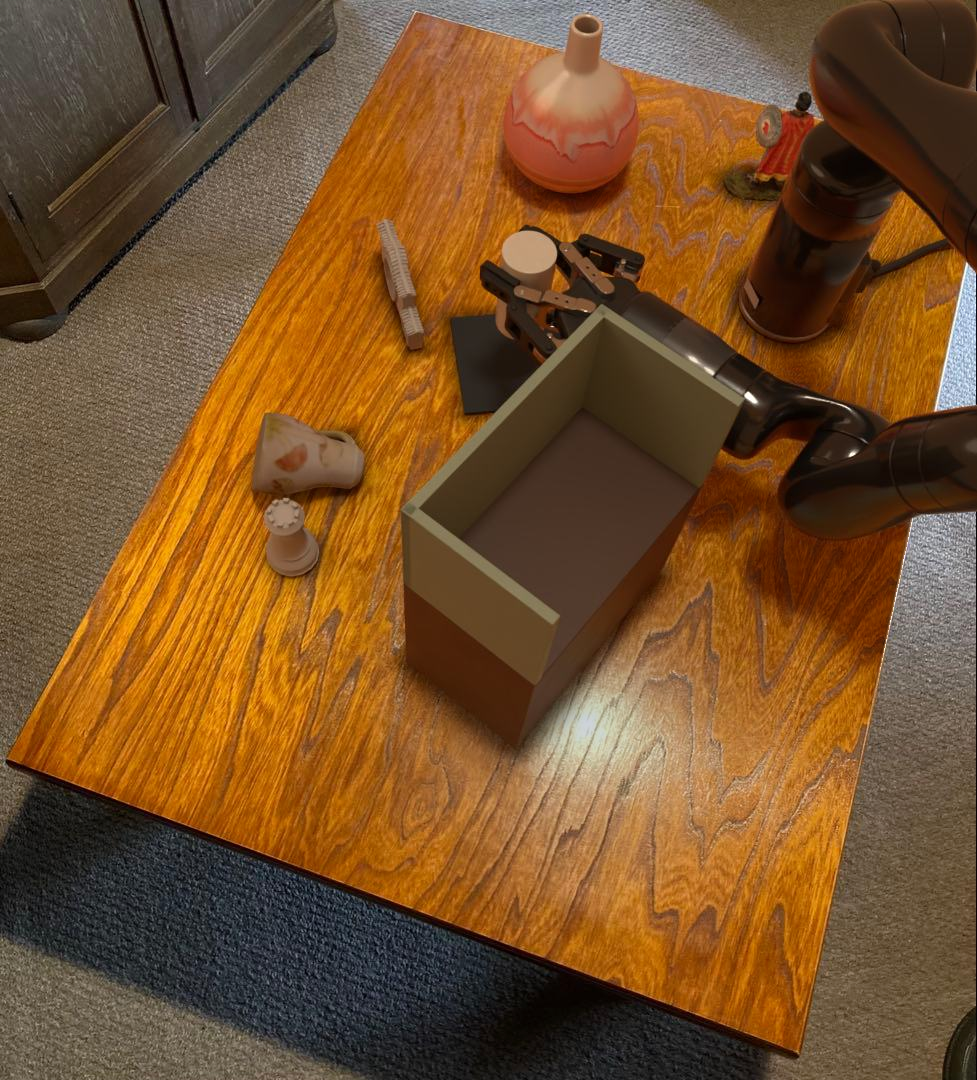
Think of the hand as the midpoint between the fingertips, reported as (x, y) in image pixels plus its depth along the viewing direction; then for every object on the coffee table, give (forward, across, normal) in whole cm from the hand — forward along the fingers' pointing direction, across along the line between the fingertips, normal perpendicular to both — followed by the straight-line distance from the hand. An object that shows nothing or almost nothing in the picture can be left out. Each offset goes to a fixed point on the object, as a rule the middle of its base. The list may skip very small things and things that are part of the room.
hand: (502, 252), depth 91 cm
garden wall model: (+10, +2, +14) cm, 17 cm away
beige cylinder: (-3, 0, +7) cm, 7 cm away
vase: (+9, -23, +14) cm, 28 cm away
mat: (-2, 0, +14) cm, 14 cm away
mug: (+4, +21, +14) cm, 26 cm away
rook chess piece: (-1, +28, +14) cm, 31 cm away
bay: (-20, +19, +14) cm, 31 cm away
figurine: (-8, -36, +14) cm, 39 cm away
